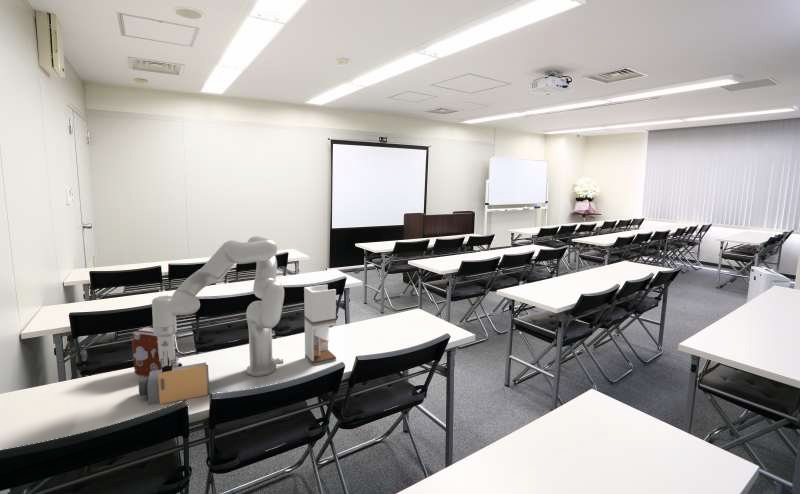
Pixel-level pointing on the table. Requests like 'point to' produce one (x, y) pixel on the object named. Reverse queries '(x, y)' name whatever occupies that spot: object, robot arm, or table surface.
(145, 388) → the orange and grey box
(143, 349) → the red printed upright box
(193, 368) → the side door
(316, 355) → the display case
